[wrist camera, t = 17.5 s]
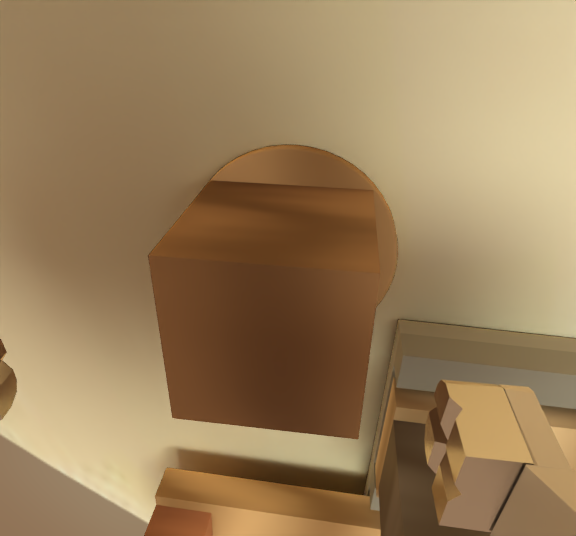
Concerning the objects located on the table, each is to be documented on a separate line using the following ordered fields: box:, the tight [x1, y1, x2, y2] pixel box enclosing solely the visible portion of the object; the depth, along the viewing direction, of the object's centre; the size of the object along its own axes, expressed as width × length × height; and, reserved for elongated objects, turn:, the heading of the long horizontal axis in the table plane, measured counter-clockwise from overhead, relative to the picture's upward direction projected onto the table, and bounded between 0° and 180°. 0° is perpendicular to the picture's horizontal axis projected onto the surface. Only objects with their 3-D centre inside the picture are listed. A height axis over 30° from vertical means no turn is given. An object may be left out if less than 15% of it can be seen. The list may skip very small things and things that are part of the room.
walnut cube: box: [148, 180, 380, 439], centre depth 13 cm, size 5×5×5 cm
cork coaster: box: [207, 145, 398, 307], centre depth 16 cm, size 7×7×1 cm
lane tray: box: [364, 319, 576, 511], centre depth 19 cm, size 14×15×3 cm
